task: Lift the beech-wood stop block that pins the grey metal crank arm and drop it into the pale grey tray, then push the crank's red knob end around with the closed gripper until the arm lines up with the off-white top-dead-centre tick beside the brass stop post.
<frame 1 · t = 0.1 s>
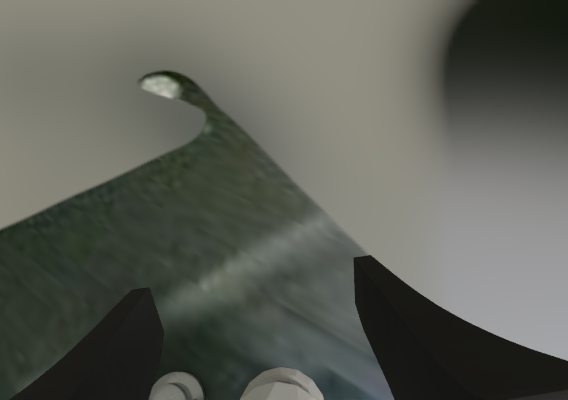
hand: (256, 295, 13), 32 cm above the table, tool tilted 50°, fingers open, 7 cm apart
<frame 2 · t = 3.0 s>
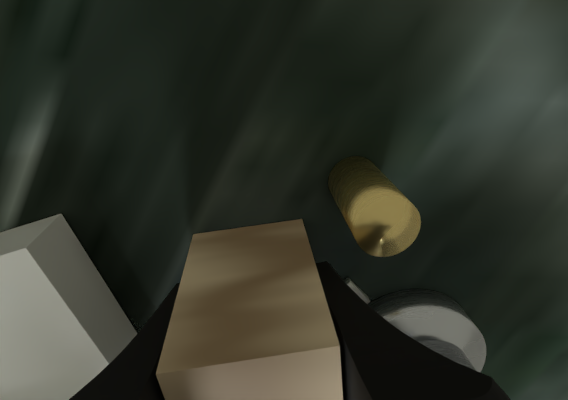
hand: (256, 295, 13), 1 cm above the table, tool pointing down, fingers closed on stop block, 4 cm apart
crank base: (403, 342, 16), on the table
tray: (16, 342, 14), on the table
stop block: (255, 271, 14), on the table, touching gripper
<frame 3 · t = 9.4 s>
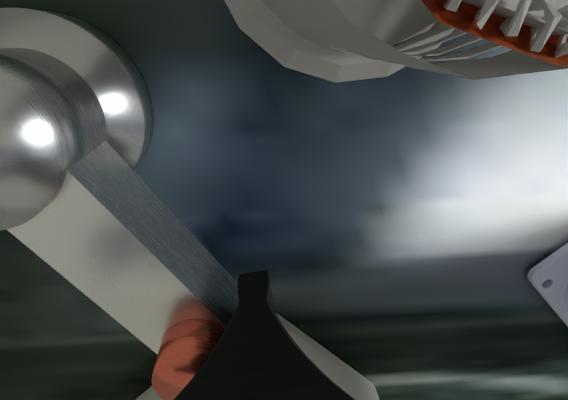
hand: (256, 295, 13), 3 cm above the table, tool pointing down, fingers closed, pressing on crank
crank base: (63, 108, 12), on the table
crank: (100, 237, 10), point 4 cm above the table, hinge at 169.2°, touching gripper
tray: (256, 392, 19), on the table
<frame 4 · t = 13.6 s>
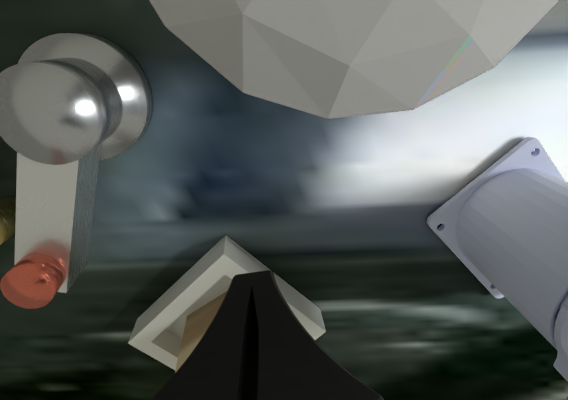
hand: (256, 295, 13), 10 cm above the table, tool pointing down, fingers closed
crank base: (93, 96, 19), on the table
crank: (53, 185, 17), point 4 cm above the table, hinge at 118.5°
tray: (230, 313, 26), on the table
stop block: (228, 319, 25), resting on tray
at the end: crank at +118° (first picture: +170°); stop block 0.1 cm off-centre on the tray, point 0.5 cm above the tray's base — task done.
